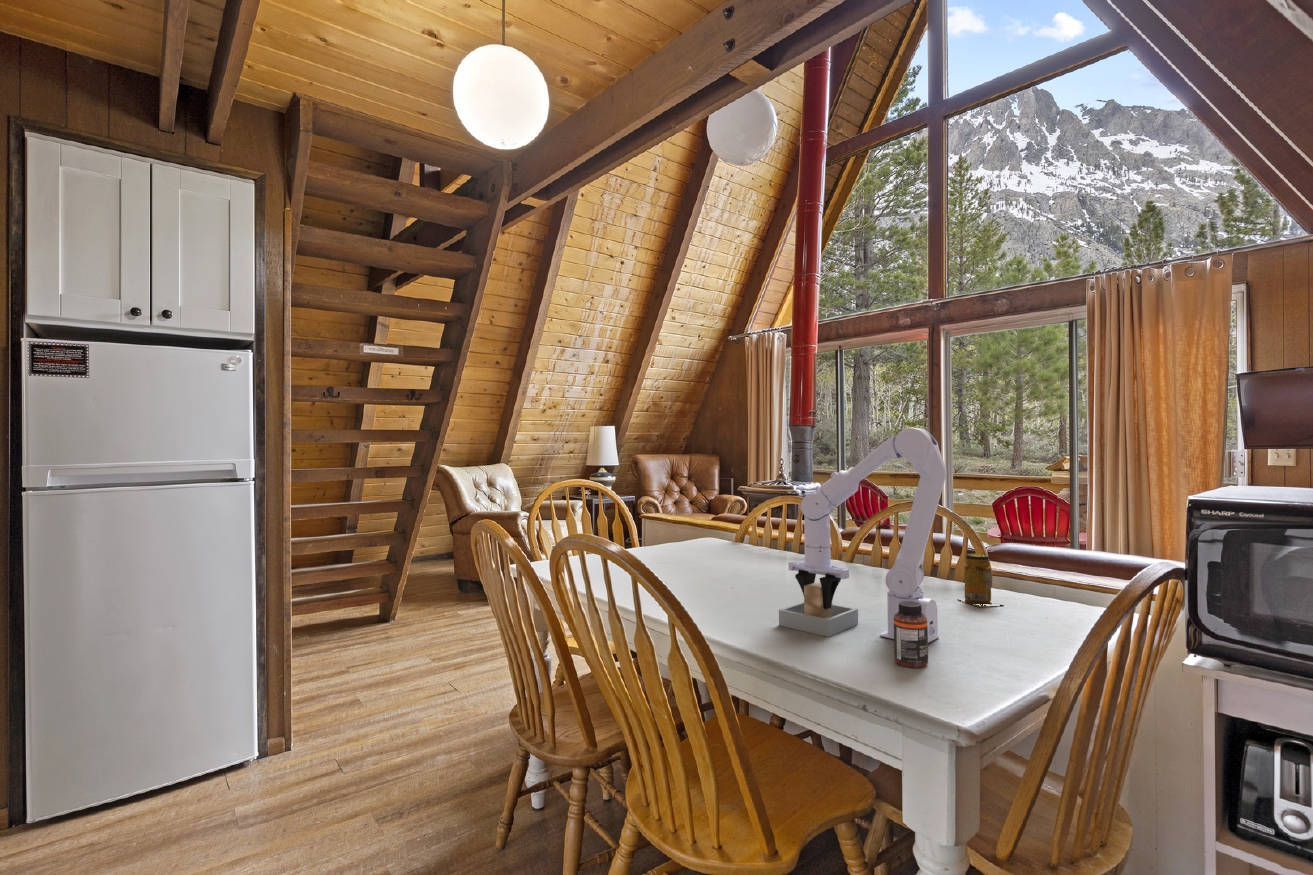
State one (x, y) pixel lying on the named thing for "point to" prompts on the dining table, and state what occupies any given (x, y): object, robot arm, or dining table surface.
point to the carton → (815, 601)
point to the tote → (818, 619)
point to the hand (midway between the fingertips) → (818, 606)
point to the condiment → (977, 580)
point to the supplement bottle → (910, 635)
